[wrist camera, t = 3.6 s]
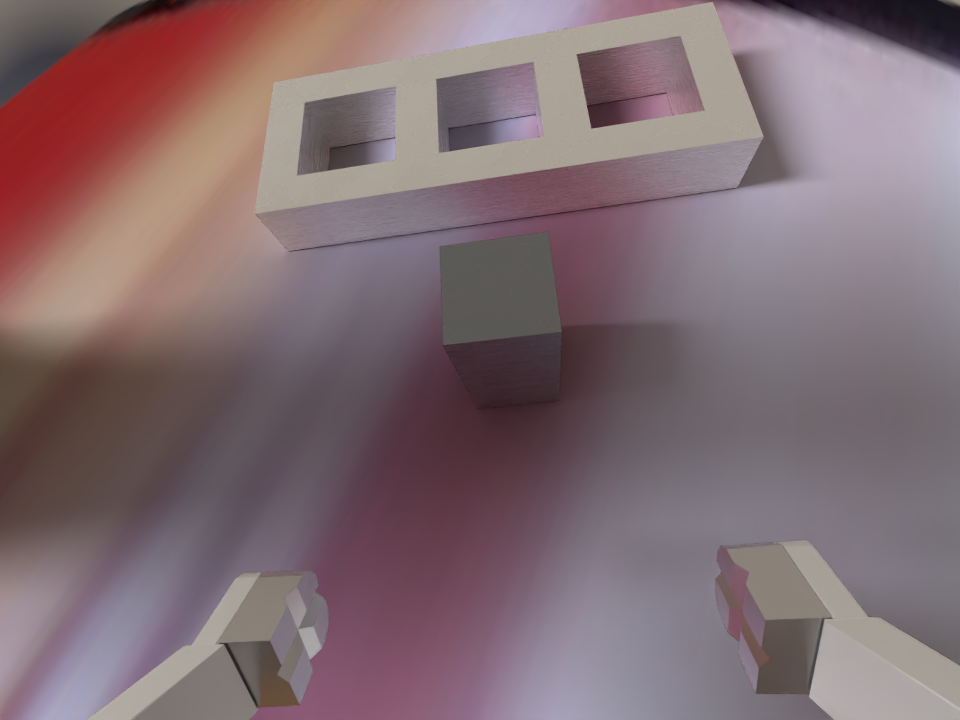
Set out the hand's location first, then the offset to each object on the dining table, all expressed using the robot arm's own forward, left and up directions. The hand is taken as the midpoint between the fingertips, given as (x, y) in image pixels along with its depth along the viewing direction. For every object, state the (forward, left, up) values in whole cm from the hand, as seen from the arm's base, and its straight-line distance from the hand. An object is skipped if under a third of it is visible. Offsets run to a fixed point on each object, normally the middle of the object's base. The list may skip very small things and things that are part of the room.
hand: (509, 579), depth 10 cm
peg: (0, +9, -12) cm, 15 cm away
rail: (0, +23, -12) cm, 26 cm away
